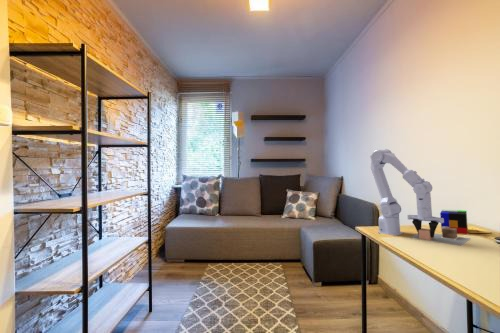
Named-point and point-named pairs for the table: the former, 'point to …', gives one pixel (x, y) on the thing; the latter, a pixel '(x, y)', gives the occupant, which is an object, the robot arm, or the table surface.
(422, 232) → the terracotta block
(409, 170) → the robot arm
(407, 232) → the table surface
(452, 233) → the walnut block
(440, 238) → the mat
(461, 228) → the puzzle toy
